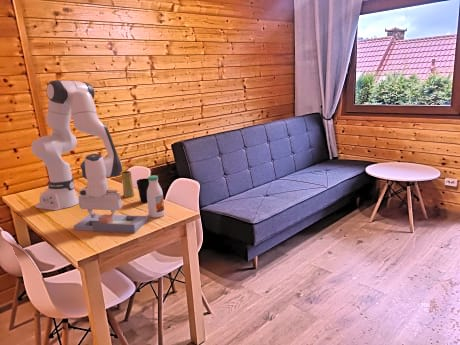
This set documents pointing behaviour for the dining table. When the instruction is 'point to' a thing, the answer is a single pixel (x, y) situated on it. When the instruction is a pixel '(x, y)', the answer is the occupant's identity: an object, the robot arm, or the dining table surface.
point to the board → (112, 224)
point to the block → (106, 219)
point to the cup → (143, 189)
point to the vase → (127, 184)
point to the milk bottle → (155, 198)
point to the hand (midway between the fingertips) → (102, 217)
